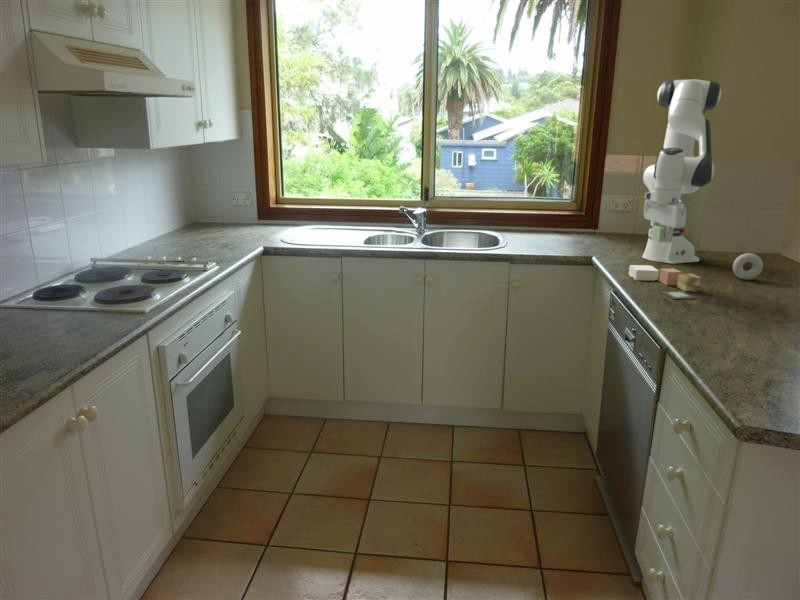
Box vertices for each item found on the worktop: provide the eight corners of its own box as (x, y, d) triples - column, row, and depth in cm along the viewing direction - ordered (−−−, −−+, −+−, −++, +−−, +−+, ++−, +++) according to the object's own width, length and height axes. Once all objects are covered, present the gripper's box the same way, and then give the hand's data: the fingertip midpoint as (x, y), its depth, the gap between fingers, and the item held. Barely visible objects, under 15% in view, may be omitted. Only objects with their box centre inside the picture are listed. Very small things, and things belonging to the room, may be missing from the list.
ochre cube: (689, 287, 212) (691, 273, 211) (698, 291, 208) (700, 277, 206) (676, 287, 212) (678, 274, 210) (685, 291, 207) (687, 277, 205)
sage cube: (663, 239, 215) (665, 225, 213) (671, 241, 210) (673, 227, 208) (650, 239, 214) (652, 225, 212) (658, 242, 209) (660, 228, 208)
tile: (682, 292, 206) (682, 290, 206) (696, 298, 199) (696, 297, 198) (660, 292, 205) (660, 291, 205) (674, 299, 197) (674, 298, 197)
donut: (758, 279, 224) (763, 253, 221) (761, 281, 221) (766, 255, 218) (729, 277, 226) (733, 251, 223) (731, 279, 223) (736, 253, 220)
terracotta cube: (671, 281, 220) (673, 268, 218) (679, 285, 215) (681, 271, 213) (658, 282, 219) (660, 268, 217) (666, 285, 214) (668, 272, 213)
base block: (649, 275, 228) (651, 265, 227) (657, 281, 221) (659, 270, 220) (628, 275, 229) (629, 265, 228) (635, 280, 221) (636, 270, 220)
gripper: (693, 200, 198) (688, 242, 202) (658, 192, 217) (654, 230, 221) (676, 201, 197) (670, 242, 201) (642, 193, 216) (638, 231, 220)
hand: (661, 236), depth 211 cm, fingers closed on sage cube, 5 cm apart
